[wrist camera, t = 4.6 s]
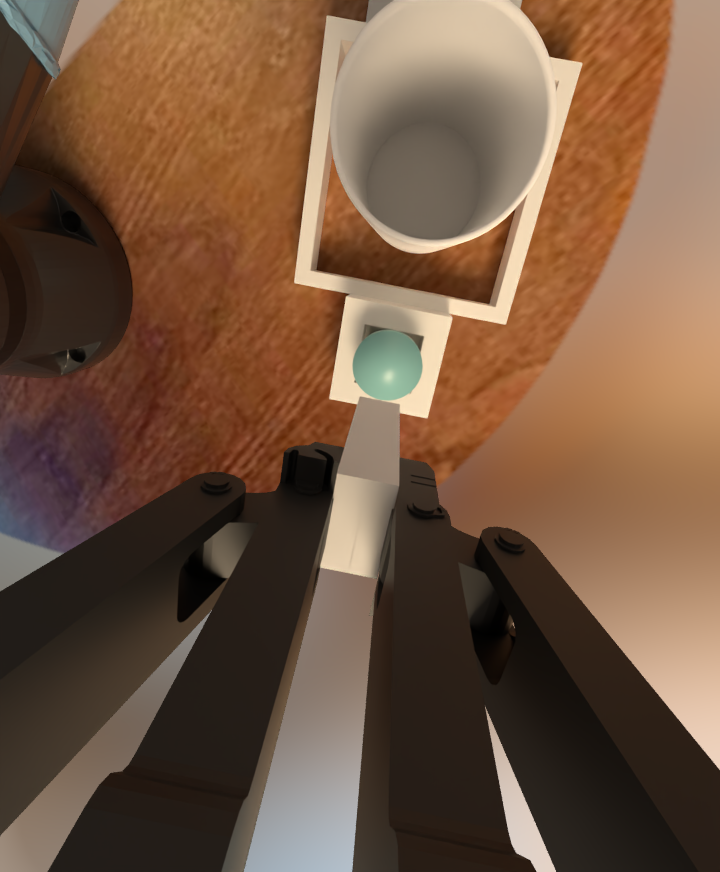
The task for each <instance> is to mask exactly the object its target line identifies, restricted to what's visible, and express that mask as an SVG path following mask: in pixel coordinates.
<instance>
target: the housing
mask: <svg viewBox="0 0 720 872" xmlns="http://www.w3.org/2000/svg"><path fill="white" fill-rule="evenodd" d="M366 24H367V23H366V22H360V21H355V20H350V19H344V18H339V17H334V16H328V15H327V19H326V27H325V35H324V44H323V52H322V60H321V68H320V76H319V84H318V93H317V101H316V109H315V117H314V125H313V133H312V142H311V150H310V158H309V166H308V174H307V182H306V190H305V199H304V207H303V215H302V223H301V231H300V239H299V248H298V256H297V264H296V272H295V280H294V283H297V284H302V285H307V286H312V287H317V288H322V289H327V290H332V291H338V292H343V293H348V294H349V295H348V296H346V300H345V306H344V313H343V319H342V325H341V331H340V337H339V343H338V349H337V355H336V361H335V367H334V374H333V380H332V386H331V392H330V398H329V399H333V400H338V401H343V402H348V403H353V404H358V401H359V397H360V396H361V397H366V398H371V399H376V398H373V397H371V396H369V395H368V394H366V393H365V392H364V391H363V390H362V389H361V388H360V387H359V385H358V384H357V382H356V380H355V378H354V374H353V366H352V364H353V358H354V354H355V352H356V350H357V348H358V346H359V345H360V343H361V342H362V341H363V340H364V339H365V338H366V337H367V336H369V335H370V334H372V333H374V332H376V331H380V330H396V331H400V332H402V333H404V334H406V335H407V336H409V337H410V338H411V339H412V340H413V341H414V342H415V343H416V345H417V346H418V348H419V350H420V353H421V357H422V364H423V368H422V374H421V378H420V380H419V382H418V384H417V385H416V387H415V388H414V389H413V390H412V391H411V392H410V393H409V394H407V395H406V396H404V397H402V398H399V399H396V400H390V401H386V402H391V403H396V404H400V413H403V414H408V415H413V416H418V417H423V418H428V414H429V410H430V406H431V402H432V398H433V394H434V390H435V386H436V382H437V378H438V374H439V370H440V366H441V362H442V358H443V354H444V350H445V346H446V342H447V338H448V334H449V330H450V326H451V322H452V318H453V317H452V316H451V315H450V314H454V315H459V316H464V317H469V318H474V319H480V320H485V321H490V322H495V323H500V324H505V325H506V322H507V319H508V315H509V312H510V308H511V305H512V301H513V298H514V295H515V291H516V288H517V284H518V281H519V278H520V274H521V271H522V267H523V264H524V261H525V257H526V254H527V250H528V247H529V244H530V240H531V237H532V233H533V230H534V226H535V223H536V220H537V216H538V213H539V209H540V206H541V203H542V199H543V196H544V192H545V189H546V186H547V182H548V179H549V175H550V172H551V169H552V165H553V162H554V158H555V155H556V151H557V148H558V145H559V141H560V138H561V134H562V131H563V128H564V124H565V121H566V117H567V114H568V111H569V107H570V104H571V100H572V97H573V94H574V90H575V87H576V83H577V80H578V76H579V73H580V70H581V66H582V63H579V62H574V61H569V60H563V59H558V58H553V57H550V60H551V64H552V68H553V72H554V77H555V84H556V97H557V109H556V121H555V129H554V134H553V138H552V143H551V146H550V149H549V153H548V155H547V158H546V161H545V163H544V166H543V168H542V170H541V172H540V174H539V176H538V178H537V179H536V181H535V183H534V185H533V186H532V188H531V189H530V191H529V192H528V194H527V195H526V196H525V198H524V199H523V200H522V201H521V203H520V204H519V205H518V206H517V207H516V209H515V213H514V216H513V220H512V223H511V227H510V231H509V234H508V238H507V242H506V245H505V249H504V252H503V256H502V260H501V263H500V267H499V271H498V274H497V278H496V281H495V285H494V289H493V292H492V296H491V299H490V303H489V304H486V303H481V302H476V301H471V300H466V299H461V298H456V297H451V296H445V295H440V294H435V293H430V292H425V291H420V290H415V289H410V288H405V287H400V286H395V285H390V284H384V283H379V282H374V281H369V280H364V279H359V278H354V277H349V276H344V275H339V274H334V273H329V272H323V271H318V270H317V263H318V256H319V248H320V241H321V234H322V227H323V220H324V212H325V205H326V198H327V191H328V183H329V176H330V169H331V162H332V154H333V152H332V146H331V137H330V112H331V103H332V96H333V92H334V88H335V83H336V80H337V77H338V74H339V71H340V68H341V66H342V64H343V61H344V59H345V57H346V55H347V53H348V51H349V49H350V47H351V45H352V44H353V42H354V41H355V39H356V38H357V36H358V35H359V33H360V32H361V31H362V29H363V28H364V27H365V25H366ZM376 400H379V399H376ZM381 401H385V400H381Z"/></svg>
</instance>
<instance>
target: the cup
mask: <svg viewBox="0 0 720 872" xmlns="http://www.w3.org/2000/svg"><path fill="white" fill-rule="evenodd" d="M556 109H557V97H556V84H555V77H554V72H553V68H552V64H551V60H550V57H549V55H548V52H547V49H546V47H545V45H544V42H543V40H542V38H541V36H540V35H539V33H538V31H537V30H536V28H535V27H534V25H533V24H532V23H531V21H530V20H529V19H528V17H527V16H526V15H525V14H524V13H523V12H522V11H521V10H520V9H519V8H518V7H517V6H516V5H515V4H513V3H512V2H511V1H510V0H393V1H392V2H390V3H389V4H388V5H386V6H385V7H384V8H383V9H381V10H380V11H379V12H378V13H377V14H376V15H375V16H374V17H373V18H372V19H371V20H370V21H369V22H368V23H367V24H366V25H365V27H364V28H363V29H362V31H361V32H360V33H359V35H358V36H357V38H356V39H355V41H354V42H353V44H352V45H351V47H350V49H349V51H348V53H347V55H346V57H345V59H344V61H343V64H342V66H341V68H340V71H339V74H338V77H337V80H336V83H335V88H334V92H333V96H332V103H331V112H330V137H331V146H332V152H333V158H334V162H335V166H336V169H337V173H338V175H339V178H340V180H341V183H342V185H343V187H344V189H345V191H346V193H347V195H348V197H349V198H350V200H351V201H352V203H353V204H354V206H355V207H356V208H357V210H358V211H359V212H360V213H361V215H362V216H363V217H364V218H365V219H366V220H367V222H368V223H369V224H370V225H371V226H372V227H373V228H374V230H375V231H376V232H377V233H378V234H379V235H380V236H381V237H382V238H383V239H384V240H385V241H386V242H387V243H389V244H390V245H392V246H393V247H395V248H397V249H399V250H402V251H405V252H409V253H416V254H424V253H431V252H435V251H438V250H442V249H445V248H448V247H451V246H454V245H457V244H460V243H463V242H466V241H469V240H471V239H474V238H476V237H478V236H480V235H482V234H484V233H486V232H487V231H489V230H491V229H492V228H493V227H495V226H496V225H498V224H499V223H500V222H502V221H503V220H504V219H505V218H506V217H507V216H508V215H509V214H510V213H511V212H512V211H513V210H514V209H515V208H516V207H517V206H518V205H519V204H520V203H521V201H522V200H523V199H524V198H525V196H526V195H527V194H528V192H529V191H530V189H531V188H532V186H533V185H534V183H535V181H536V179H537V178H538V176H539V174H540V172H541V170H542V168H543V166H544V163H545V161H546V158H547V155H548V153H549V149H550V146H551V143H552V138H553V134H554V129H555V121H556Z"/></svg>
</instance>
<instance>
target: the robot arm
mask: <svg viewBox="0 0 720 872" xmlns="http://www.w3.org/2000/svg"><path fill="white" fill-rule="evenodd" d="M78 1H79V0H0V375H11V376H22V377H33V378H53V377H60V376H65V375H69V374H72V373H75V372H78V371H81V370H84V369H87V368H89V367H92V366H94V365H96V364H97V363H99V362H101V361H102V360H104V359H105V358H106V357H107V356H108V355H109V354H110V353H111V352H112V351H113V350H114V349H115V348H116V347H117V345H118V344H119V342H120V341H121V339H122V337H123V335H124V333H125V331H126V328H127V326H128V322H129V319H130V314H131V307H132V285H131V278H130V272H129V268H128V264H127V261H126V258H125V255H124V253H123V250H122V248H121V245H120V243H119V241H118V239H117V237H116V235H115V234H114V232H113V230H112V229H111V227H110V225H109V224H108V222H107V221H106V220H105V218H104V217H103V216H102V214H101V213H100V212H99V211H98V210H97V209H96V207H95V206H94V205H93V204H92V203H91V202H90V201H89V200H88V199H87V198H86V197H84V196H83V195H82V194H81V193H80V192H78V191H77V190H76V189H75V188H73V187H72V186H70V185H69V184H67V183H65V182H64V181H62V180H60V179H58V178H56V177H54V176H52V175H50V174H47V173H44V172H41V171H38V170H34V169H30V168H26V167H22V166H18V165H15V162H16V160H17V157H18V155H19V153H20V150H21V148H22V145H23V143H24V141H25V138H26V136H27V133H28V131H29V129H30V126H31V124H32V121H33V119H34V117H35V115H36V112H37V110H38V108H39V106H40V103H41V101H42V99H43V97H44V95H45V92H46V90H47V88H48V86H49V83H50V81H51V79H52V77H53V78H54V79H56V78H57V77H58V75H59V73H60V67H59V64H58V60H59V58H60V55H61V52H62V48H63V46H64V43H65V39H66V37H67V33H68V31H69V27H70V25H71V21H72V19H73V15H74V13H75V10H76V7H77V4H78ZM399 445H400V404H396V403H391V402H386V401H381V400H376V399H371V398H366V397H361V396H360V397H359V401H358V404H357V407H356V411H355V414H354V417H353V421H352V424H351V427H350V431H349V434H348V437H347V441H346V444H345V447H344V448H343V447H338V446H333V445H328V444H323V443H318V442H314V443H312V444H310V445H308V446H307V445H305V446H294V447H291V448H288V449H287V450H286V451H285V452H284V457H283V465H282V473H281V480H280V484H279V486H278V488H277V489H276V491H273V492H267V493H245V492H246V486H245V483H244V482H243V481H242V480H241V479H240V478H238V477H236V476H234V475H231V474H226V473H224V472H210V473H203V474H199V475H196V476H194V477H192V478H190V479H188V480H187V481H185V482H183V483H182V484H180V485H178V486H176V487H175V488H173V489H171V490H170V491H168V492H166V493H165V494H163V495H161V496H160V497H158V498H156V499H155V500H153V501H151V502H150V503H148V504H146V505H145V506H143V507H141V508H140V509H138V510H136V511H135V512H133V513H131V514H130V515H128V516H126V517H124V518H123V519H121V520H119V521H118V522H116V523H114V524H113V525H111V526H109V527H108V528H106V529H104V530H103V531H101V532H99V533H98V534H96V535H94V536H93V537H91V538H89V539H88V540H86V541H84V542H83V543H81V544H79V545H78V546H76V547H74V548H72V549H71V550H69V551H67V552H66V553H64V554H62V555H61V556H59V557H57V558H56V559H54V560H52V561H51V562H49V563H47V564H46V565H44V566H42V567H41V568H39V569H37V570H36V571H34V572H32V573H31V574H29V575H27V576H26V577H24V578H22V579H20V580H19V581H17V582H15V583H14V584H12V585H11V586H9V587H7V588H5V589H4V590H2V591H0V835H1V834H2V833H3V832H4V831H5V830H6V829H7V828H8V827H9V826H10V825H11V824H12V823H13V821H14V820H15V819H16V818H17V817H18V816H19V815H20V814H21V813H22V812H23V811H24V810H25V809H26V808H27V807H28V805H29V804H30V803H31V802H32V801H33V800H34V799H35V798H36V797H37V796H38V795H39V794H40V793H41V792H42V791H43V789H44V788H45V787H46V786H47V785H48V784H49V783H50V782H51V781H52V780H53V779H54V778H55V777H56V775H57V774H58V773H59V772H60V771H61V770H62V769H63V768H64V767H65V766H66V765H67V764H68V763H69V762H70V761H71V760H72V758H73V757H74V756H75V755H76V754H77V753H78V752H79V751H80V750H81V749H82V748H83V747H84V746H85V745H86V744H87V742H88V741H89V740H90V739H91V738H92V737H93V736H94V735H95V734H96V733H97V732H98V731H99V730H100V729H101V727H102V726H103V725H104V724H105V723H106V722H107V721H108V720H109V719H110V718H111V717H112V716H113V715H114V714H115V713H116V712H117V710H118V709H119V708H120V707H121V706H122V705H123V704H124V703H125V702H126V701H127V700H128V699H129V698H130V696H131V695H132V694H133V693H134V692H135V691H136V690H137V689H138V688H139V687H140V686H141V685H142V684H143V683H144V681H146V680H147V678H148V677H149V676H150V675H151V674H152V673H153V672H154V671H155V670H156V669H157V668H158V667H159V666H160V665H161V663H162V662H163V661H164V660H165V659H166V658H167V657H168V656H169V655H170V654H171V653H172V652H173V650H175V649H176V647H177V646H178V645H179V644H180V643H181V642H182V641H183V640H184V639H185V638H186V637H187V636H188V635H189V634H190V633H191V631H192V630H193V629H194V628H195V627H196V626H197V625H198V624H199V623H200V622H201V621H202V620H203V619H204V618H205V616H206V615H207V614H208V613H209V612H210V611H211V610H212V611H211V613H210V615H209V617H208V619H207V621H206V622H205V624H204V626H203V628H202V630H201V632H200V634H199V635H198V637H197V639H196V641H195V643H194V645H193V647H192V649H191V651H190V652H189V654H188V656H187V658H186V660H185V662H184V664H183V666H182V667H181V669H180V671H179V673H178V675H177V677H176V679H175V680H174V682H173V684H172V686H171V688H170V690H169V692H168V694H167V695H166V697H165V699H164V701H163V703H162V705H161V707H160V709H159V710H158V712H157V714H156V716H155V718H154V720H153V722H152V723H151V725H150V727H149V729H148V731H147V733H146V735H145V737H144V738H143V740H142V742H141V744H140V746H139V748H138V750H137V752H136V753H135V755H134V757H133V758H132V760H131V762H130V763H129V765H128V766H127V767H126V768H125V769H124V770H123V771H122V772H114V773H110V774H109V776H107V777H106V778H105V780H104V781H103V782H102V783H101V784H100V785H99V786H98V788H97V789H96V791H95V792H94V794H93V795H92V797H91V798H90V800H89V801H88V803H87V805H86V806H85V808H84V809H83V811H82V813H81V815H80V816H79V818H78V820H77V822H76V823H75V825H74V827H73V829H72V830H71V832H70V834H69V835H68V837H67V839H66V841H65V843H64V844H63V846H62V848H61V849H60V851H59V853H58V855H57V856H56V858H55V860H54V862H53V863H52V865H51V867H50V869H49V870H48V872H244V868H245V864H246V860H247V856H248V852H249V849H250V844H251V841H252V837H253V833H254V829H255V825H256V821H257V817H258V813H259V809H260V805H261V802H262V798H263V794H264V790H265V786H266V782H267V778H268V773H269V770H270V766H271V762H272V758H273V754H274V750H275V746H276V742H277V739H278V735H279V731H280V726H281V723H282V719H283V715H284V711H285V707H286V703H287V699H288V695H289V691H290V687H291V683H292V679H293V676H294V672H295V667H296V664H297V660H298V655H299V652H300V648H301V644H302V640H303V636H304V632H305V628H306V624H307V620H308V616H309V613H310V609H311V605H312V601H313V597H314V593H315V588H316V585H317V581H318V576H319V571H320V567H321V568H326V569H331V570H336V571H341V572H346V573H351V574H356V575H360V576H365V577H370V578H375V579H377V576H378V572H379V578H378V581H377V586H376V590H375V594H374V598H373V602H372V607H371V610H370V615H369V616H373V624H372V635H371V648H370V661H369V672H368V685H367V697H366V709H365V722H364V734H363V746H362V759H361V771H360V783H359V796H358V808H357V821H356V833H355V845H354V857H353V870H352V872H536V870H535V868H534V866H533V865H532V863H531V861H530V860H528V859H526V858H525V857H523V856H521V855H519V854H517V853H516V852H515V850H514V848H513V846H512V844H511V840H510V837H509V833H508V828H507V823H506V817H505V812H504V807H503V801H502V796H501V791H500V785H499V780H498V774H497V769H496V764H495V758H494V753H493V747H492V742H491V737H490V732H489V726H488V720H487V715H486V710H485V707H486V709H487V711H488V714H489V716H490V718H491V720H492V723H493V725H494V728H495V730H496V732H497V735H498V737H499V739H500V742H501V744H502V746H503V748H504V751H505V753H506V756H507V758H508V760H509V763H510V765H511V767H512V770H513V772H514V774H515V777H516V779H517V781H518V783H519V786H520V788H521V791H522V793H523V795H524V797H525V800H526V802H527V804H528V807H529V809H530V811H531V814H532V816H533V818H534V821H535V823H536V825H537V827H538V830H539V832H540V835H541V837H542V839H543V842H544V844H545V846H546V849H547V851H548V853H549V856H550V858H551V860H552V863H553V865H554V867H555V870H556V872H720V770H719V769H718V768H717V766H716V765H715V764H714V763H713V761H712V760H711V759H710V758H709V756H708V755H707V754H706V753H705V752H704V750H703V749H702V748H701V747H700V745H699V744H698V743H697V742H696V741H695V739H694V738H693V737H692V736H691V734H690V733H689V732H688V731H687V730H686V729H685V727H684V726H683V725H682V723H681V722H680V721H679V720H678V719H677V717H676V716H675V715H674V714H673V712H672V711H671V710H670V709H669V708H668V706H667V705H666V704H665V703H664V701H663V700H662V699H661V698H660V697H659V695H658V694H657V693H656V692H655V690H654V689H653V688H652V687H651V686H650V684H649V683H648V682H647V681H646V680H645V678H644V677H643V676H642V675H641V673H640V672H639V671H638V670H637V668H636V667H635V666H634V665H633V664H632V662H631V661H630V660H629V659H628V657H627V656H626V655H625V654H624V653H623V651H622V650H621V649H620V648H619V646H618V645H617V644H616V643H615V642H614V640H613V639H612V638H611V637H610V635H609V634H608V633H607V632H606V631H605V629H604V628H603V627H602V626H601V624H600V623H599V622H598V621H597V619H596V618H595V617H594V616H593V615H592V614H591V612H590V611H589V610H588V609H587V607H586V606H585V605H584V604H583V602H582V601H581V600H580V599H579V597H577V595H576V594H575V593H574V592H573V590H572V589H571V588H570V587H569V585H568V584H567V583H566V582H565V580H564V579H563V578H562V577H561V576H560V574H559V573H558V572H557V571H556V569H555V568H554V567H553V566H552V565H551V563H550V562H549V561H548V560H547V558H546V557H545V556H544V555H543V553H542V552H541V551H540V550H539V549H538V547H537V546H536V545H535V544H534V543H533V542H532V541H531V540H530V539H528V538H527V537H525V536H523V535H522V534H520V533H519V532H517V531H515V530H512V529H509V528H501V527H488V528H486V529H484V530H483V531H482V533H481V536H480V539H479V538H476V537H473V536H470V535H468V534H466V533H463V532H461V531H459V530H457V529H456V528H454V527H452V526H451V521H450V516H449V514H448V512H447V511H446V510H445V509H444V508H443V507H442V506H441V505H439V499H438V493H437V488H436V481H435V474H434V471H433V470H432V469H431V467H430V466H429V465H428V464H427V463H424V462H419V461H414V460H409V459H404V458H399ZM379 568H380V570H379ZM513 622H514V626H515V628H514V626H513V625H512V623H513Z"/></svg>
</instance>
